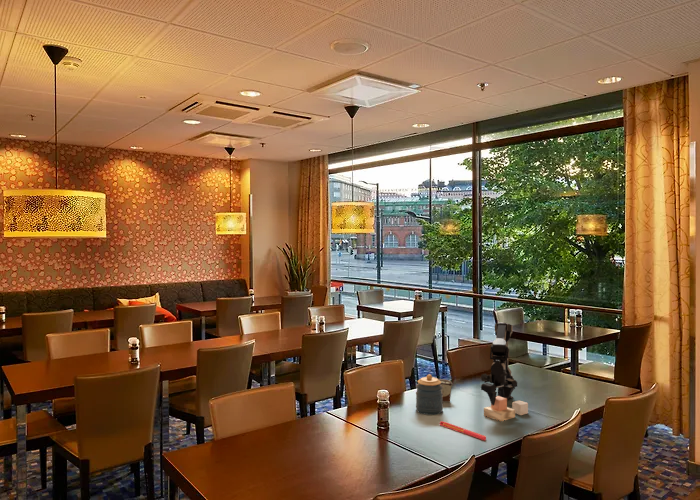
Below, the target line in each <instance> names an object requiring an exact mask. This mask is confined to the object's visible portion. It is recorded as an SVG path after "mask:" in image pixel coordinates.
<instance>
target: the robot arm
mask: <svg viewBox="0 0 700 500" xmlns="http://www.w3.org/2000/svg"><path fill="white" fill-rule="evenodd" d="M494 332H495V333H496V335H495V336H496V337H495V339H494V340H493V341H492V345H490V352H489V353H490V354H489V360H492V363H491V366H490V374H487V373H482V374H481V375H480V376H481V377H480V379H481V381H482V382H484V383H482V384H481V385H480V390H481V391H483V392H485V393H486V394H487V396H488V398H489V401H490V405H491V404H492V405H494V404H495V399H496V396H500V397H503V398H507V402H508V400H510V399H514V396H512V393H513V391H515V389H516V387H518V381H517V380H516V379H515V378H514V375H512V370H511V369H510V367H509V358H510V357H509V356H510V349H509V340H510V338H511V337H512V334H513V325H512V324H511V323H508V322H503V321H502V322H501V321H499V322H497V323H495V324H494Z"/></svg>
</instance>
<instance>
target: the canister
mask: <svg viewBox="0 0 700 500" xmlns="http://www.w3.org/2000/svg"><path fill="white" fill-rule="evenodd" d="M438 379H439V378H437V377H434V376H432V374H430V373H429V374H427V375H426V376H423V377H421V378H420V379H418V380H417V384H416V385H415V388H416V391H415V396H416V397H415V402H416V403H415V409H416V410H415V411H416V412H418V413H419V414H422V415H429V416H430V415H431V416H432V415H433V416H434V415H439V414H441V413H442V412H443V410H444V405H443V403H444V402H443V393H442V389H443V386H442V385H441V381H440V380H438Z"/></svg>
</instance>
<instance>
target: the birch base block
mask: <svg viewBox="0 0 700 500" xmlns="http://www.w3.org/2000/svg"><path fill="white" fill-rule="evenodd" d="M483 416H484V417H486V416H487V417H486V418H489V417H490V419H492V418H493V420H495V419H496V420H495V421H498V420H499V421H498V422H501V421H502V422H505V421H508V420H510V419H514V418H516V413H515V409H512V407H508V406H507V409H506V410H502V411H497V410H495V409H492V408H491V405H489V406H485V407H483ZM504 420H505V421H504Z"/></svg>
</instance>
